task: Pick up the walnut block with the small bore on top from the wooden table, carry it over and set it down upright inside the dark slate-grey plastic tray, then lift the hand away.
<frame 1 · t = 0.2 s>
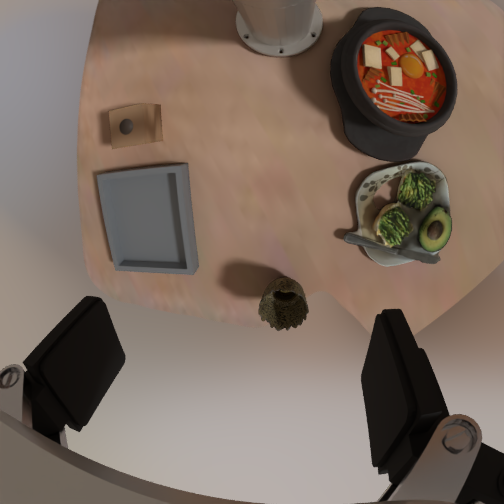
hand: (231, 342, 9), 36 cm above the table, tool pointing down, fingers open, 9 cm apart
casserole: (388, 81, 34), on the table
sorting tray: (150, 218, 48), on the table
walnut block: (145, 125, 41), on the table
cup: (285, 284, 50), on the table
salad plate: (406, 214, 42), on the table
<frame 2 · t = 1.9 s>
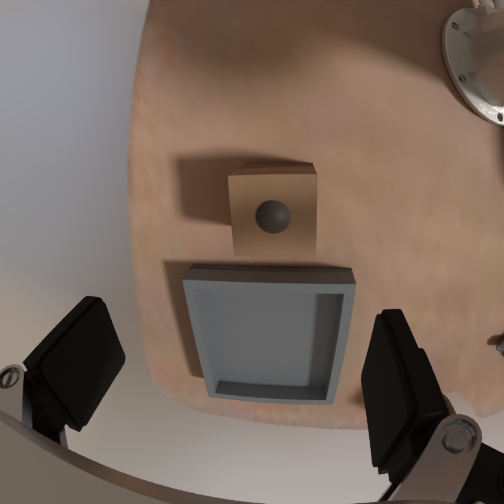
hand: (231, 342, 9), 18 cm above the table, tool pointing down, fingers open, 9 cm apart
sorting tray: (271, 336, 32), on the table
walnut block: (278, 196, 26), on the table
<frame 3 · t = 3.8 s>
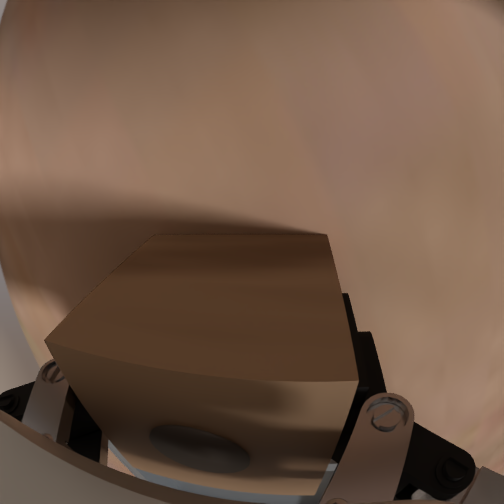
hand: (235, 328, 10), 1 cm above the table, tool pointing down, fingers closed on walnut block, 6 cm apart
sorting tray: (245, 470, 17), on the table
walnut block: (241, 309, 11), on the table, touching gripper
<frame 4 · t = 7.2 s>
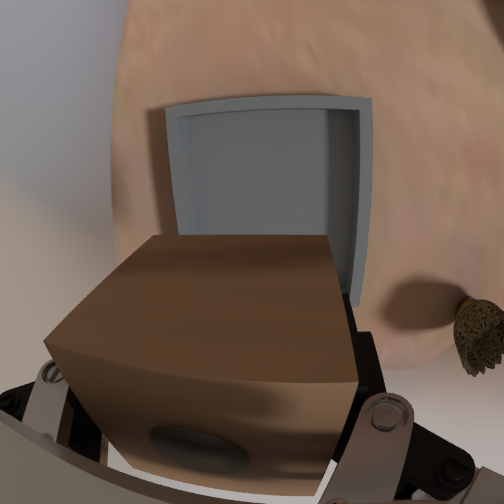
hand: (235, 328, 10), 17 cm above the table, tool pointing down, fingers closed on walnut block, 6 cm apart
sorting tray: (273, 201, 26), on the table
walnut block: (241, 309, 11), point 16 cm above the table, touching gripper
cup: (464, 307, 27), on the table
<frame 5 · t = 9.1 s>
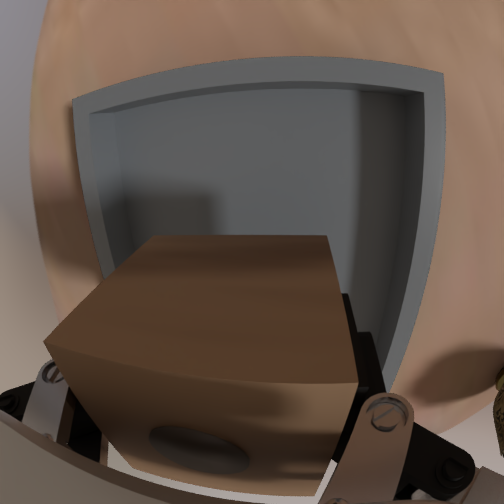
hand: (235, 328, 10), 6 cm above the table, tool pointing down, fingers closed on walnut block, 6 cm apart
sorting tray: (260, 250, 15), on the table
walnut block: (241, 309, 11), point 5 cm above the table, touching gripper
when the fingers open (3 cm above the table, at t = 10.6 s): walnut block drops 2 cm, resting on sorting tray.
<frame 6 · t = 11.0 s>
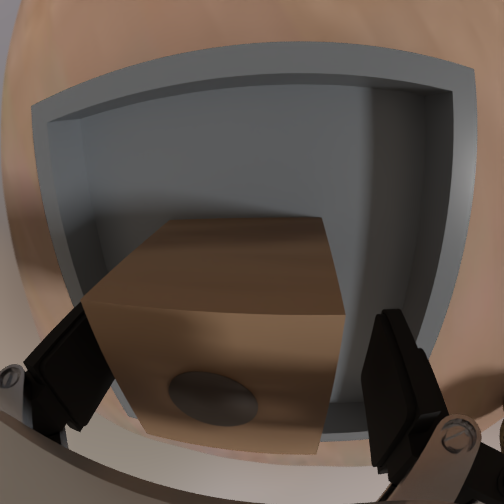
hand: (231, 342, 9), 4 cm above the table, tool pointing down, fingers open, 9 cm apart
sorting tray: (250, 278, 13), on the table
walnut block: (247, 286, 12), point 1 cm above the table, touching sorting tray
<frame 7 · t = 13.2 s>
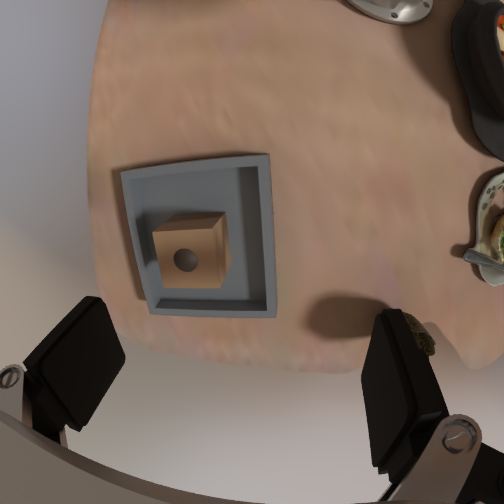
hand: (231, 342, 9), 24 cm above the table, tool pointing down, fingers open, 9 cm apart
casserole: (497, 72, 20), on the table
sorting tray: (204, 237, 34), on the table
walnut block: (202, 239, 33), point 1 cm above the table, touching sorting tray
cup: (389, 318, 35), on the table
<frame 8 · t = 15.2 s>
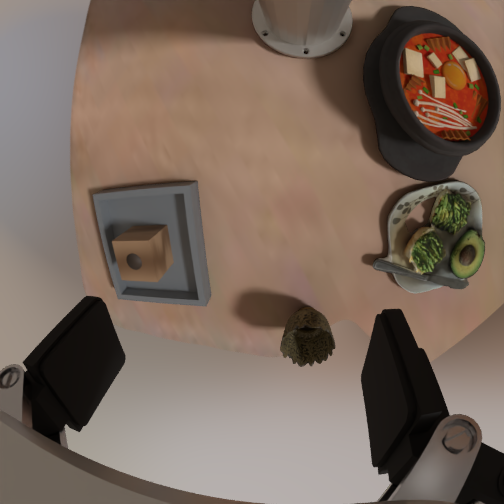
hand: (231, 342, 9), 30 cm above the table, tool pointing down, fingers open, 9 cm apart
casserole: (424, 90, 28), on the table
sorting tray: (155, 242, 43), on the table
walnut block: (152, 244, 42), point 1 cm above the table, touching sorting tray
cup: (307, 313, 45), on the table
salad plate: (438, 237, 37), on the table
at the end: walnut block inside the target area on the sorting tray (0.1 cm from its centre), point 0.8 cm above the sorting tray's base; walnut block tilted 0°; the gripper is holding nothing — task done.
